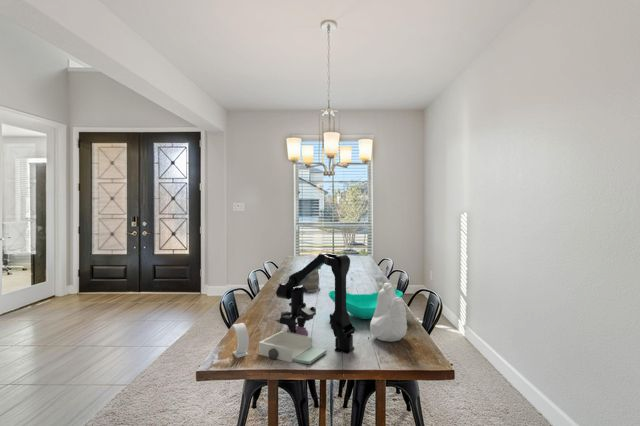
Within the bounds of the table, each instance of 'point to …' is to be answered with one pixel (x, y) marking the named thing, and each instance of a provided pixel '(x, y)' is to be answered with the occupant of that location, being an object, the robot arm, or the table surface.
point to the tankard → (312, 282)
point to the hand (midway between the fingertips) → (297, 334)
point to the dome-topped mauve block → (300, 331)
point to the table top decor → (362, 303)
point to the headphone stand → (241, 340)
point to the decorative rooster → (389, 316)
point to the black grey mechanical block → (283, 315)
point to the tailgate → (310, 355)
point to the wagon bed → (284, 346)
